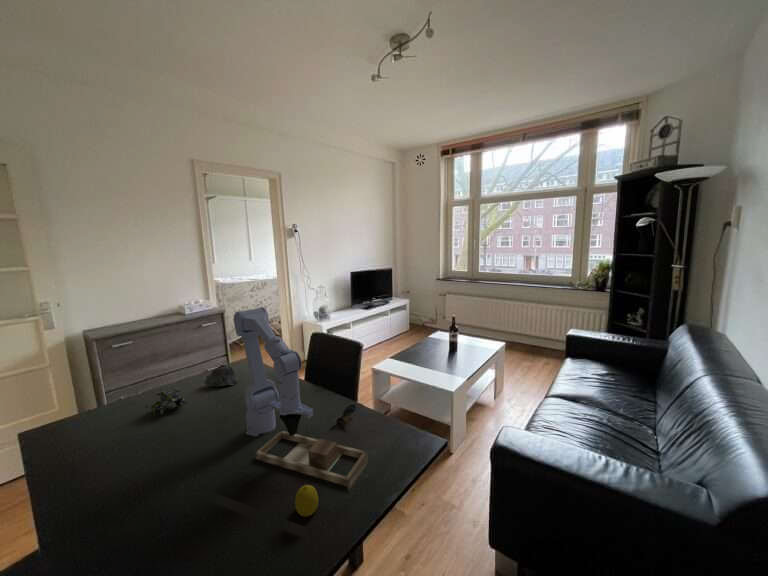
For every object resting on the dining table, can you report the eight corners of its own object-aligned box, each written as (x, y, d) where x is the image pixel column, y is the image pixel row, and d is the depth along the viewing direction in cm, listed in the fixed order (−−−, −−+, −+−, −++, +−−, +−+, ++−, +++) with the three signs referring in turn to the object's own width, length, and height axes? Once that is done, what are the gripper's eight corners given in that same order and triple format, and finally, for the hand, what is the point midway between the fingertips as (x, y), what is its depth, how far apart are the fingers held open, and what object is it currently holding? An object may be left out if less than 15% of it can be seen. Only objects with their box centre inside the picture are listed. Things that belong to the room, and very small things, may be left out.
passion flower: (180, 419, 134) (194, 396, 133) (156, 429, 123) (171, 405, 122) (162, 401, 136) (176, 379, 135) (137, 410, 126) (152, 386, 124)
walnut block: (309, 466, 94) (308, 450, 94) (320, 453, 100) (319, 438, 99) (326, 471, 92) (325, 455, 91) (337, 457, 98) (336, 442, 97)
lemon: (298, 506, 82) (296, 479, 81) (320, 504, 83) (318, 477, 81) (294, 526, 77) (291, 496, 75) (317, 523, 77) (315, 494, 76)
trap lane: (256, 463, 99) (255, 452, 98) (282, 439, 109) (281, 430, 109) (348, 491, 86) (348, 480, 86) (367, 462, 97) (367, 451, 97)
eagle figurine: (357, 428, 113) (360, 410, 121) (345, 414, 111) (349, 397, 119) (340, 437, 115) (345, 419, 123) (328, 424, 113) (333, 406, 121)
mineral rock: (203, 387, 150) (200, 366, 149) (222, 377, 160) (220, 358, 158) (223, 391, 145) (221, 370, 144) (242, 381, 155) (240, 361, 154)
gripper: (261, 394, 96) (265, 436, 98) (301, 403, 90) (305, 447, 93) (277, 384, 102) (280, 423, 104) (316, 391, 97) (318, 432, 99)
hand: (293, 433), depth 99 cm, fingers closed
